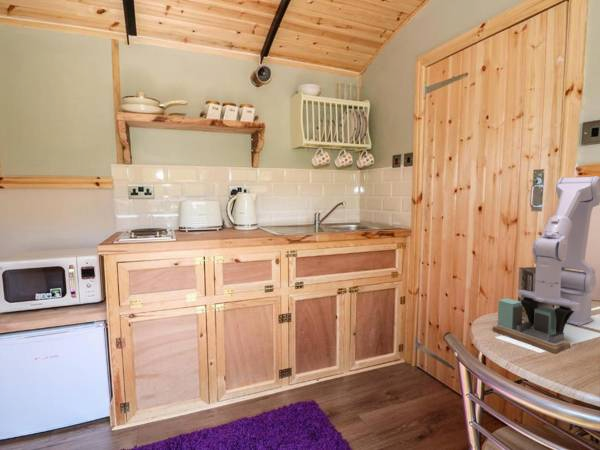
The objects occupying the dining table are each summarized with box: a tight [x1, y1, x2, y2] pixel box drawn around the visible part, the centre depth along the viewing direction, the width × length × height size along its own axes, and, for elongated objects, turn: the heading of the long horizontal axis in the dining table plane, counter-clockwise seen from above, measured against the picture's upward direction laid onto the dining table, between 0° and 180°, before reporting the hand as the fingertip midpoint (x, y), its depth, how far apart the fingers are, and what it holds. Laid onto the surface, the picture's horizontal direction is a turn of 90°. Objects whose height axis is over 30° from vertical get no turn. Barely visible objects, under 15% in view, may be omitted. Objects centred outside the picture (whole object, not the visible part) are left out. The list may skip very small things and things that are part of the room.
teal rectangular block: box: [533, 307, 556, 335], centre depth 94 cm, size 5×4×7 cm
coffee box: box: [517, 266, 555, 327], centre depth 104 cm, size 9×6×16 cm
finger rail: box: [492, 297, 571, 354], centre depth 92 cm, size 7×16×9 cm, turn 27°
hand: (545, 328), depth 95 cm, fingers open, 6 cm apart
